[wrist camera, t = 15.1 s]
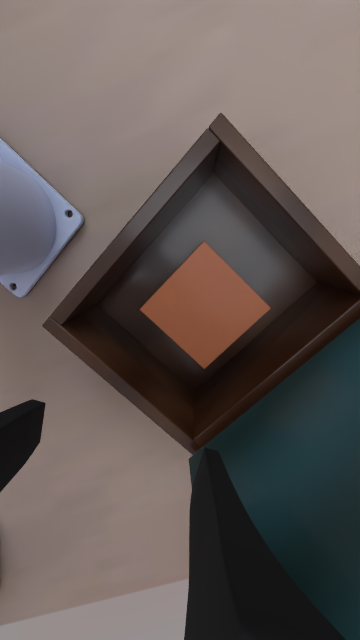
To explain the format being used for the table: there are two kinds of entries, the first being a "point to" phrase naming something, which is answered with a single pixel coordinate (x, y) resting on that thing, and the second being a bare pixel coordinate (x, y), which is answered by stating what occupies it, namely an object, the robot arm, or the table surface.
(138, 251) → the toy box
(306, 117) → the table surface
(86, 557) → the table surface
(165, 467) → the table surface
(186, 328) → the block
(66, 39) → the table surface
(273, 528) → the lid
